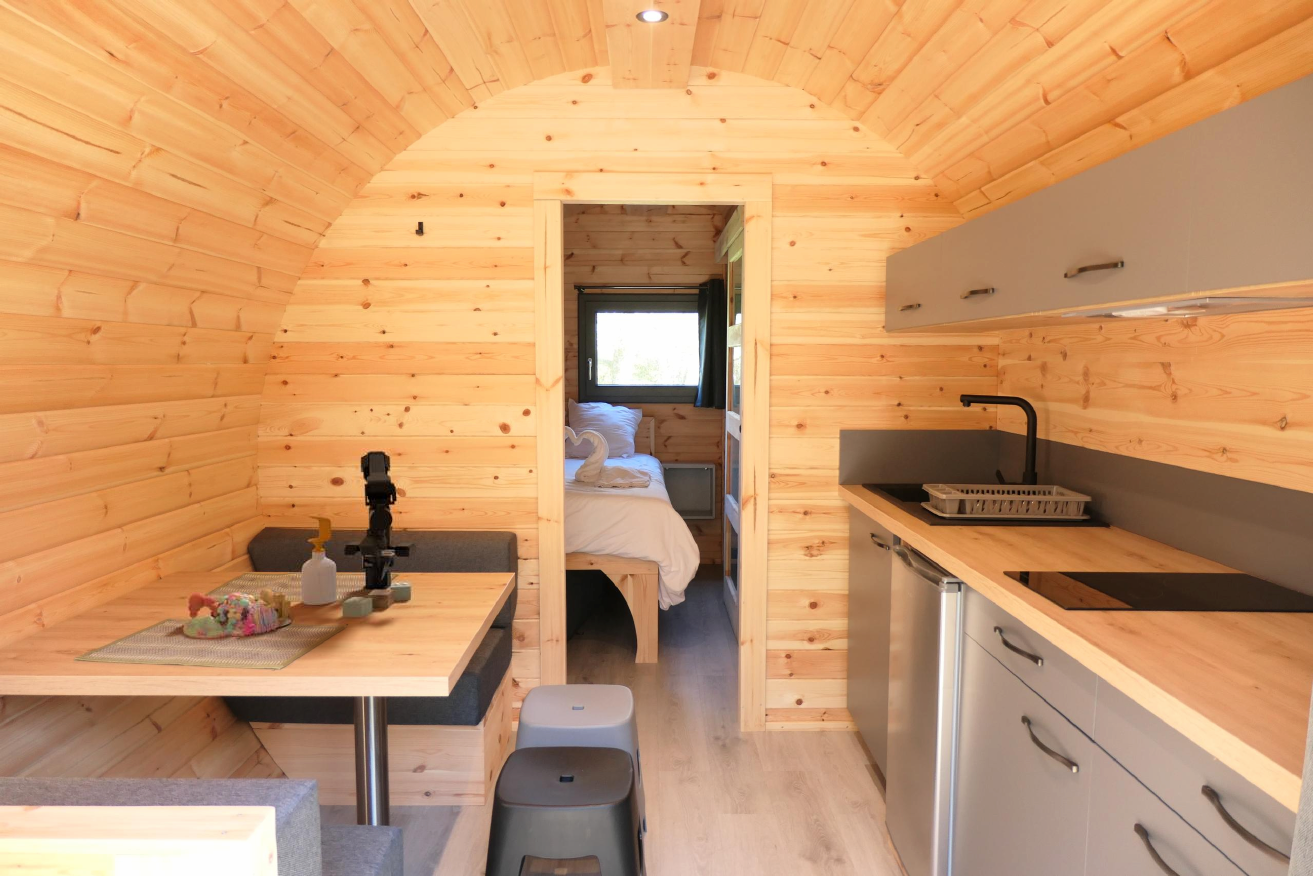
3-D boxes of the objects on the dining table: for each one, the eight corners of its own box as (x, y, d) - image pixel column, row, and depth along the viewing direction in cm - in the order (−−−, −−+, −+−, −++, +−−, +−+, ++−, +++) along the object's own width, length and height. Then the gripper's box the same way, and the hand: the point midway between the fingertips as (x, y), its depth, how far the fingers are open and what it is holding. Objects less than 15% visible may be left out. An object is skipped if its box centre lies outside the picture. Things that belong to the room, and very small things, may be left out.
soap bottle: (295, 603, 235) (293, 516, 233) (319, 595, 244) (317, 512, 242) (319, 607, 232) (318, 519, 230) (343, 599, 240) (342, 514, 239)
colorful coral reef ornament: (272, 607, 232) (271, 574, 231) (307, 626, 215) (306, 590, 215) (171, 626, 214) (170, 590, 214) (201, 648, 198) (199, 609, 197)
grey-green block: (342, 617, 223) (342, 601, 223) (353, 611, 229) (353, 596, 228) (361, 618, 222) (361, 602, 222) (372, 612, 228) (372, 597, 227)
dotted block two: (390, 601, 239) (390, 586, 239) (391, 596, 245) (391, 582, 244) (410, 600, 241) (410, 585, 240) (411, 595, 246) (411, 581, 246)
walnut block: (368, 609, 231) (367, 594, 231) (374, 603, 237) (374, 589, 236) (388, 609, 231) (387, 594, 231) (393, 603, 237) (393, 589, 236)
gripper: (333, 528, 225) (334, 585, 226) (400, 530, 223) (401, 588, 224) (352, 521, 236) (353, 576, 237) (416, 523, 234) (417, 578, 236)
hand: (380, 579), depth 233 cm, fingers closed
